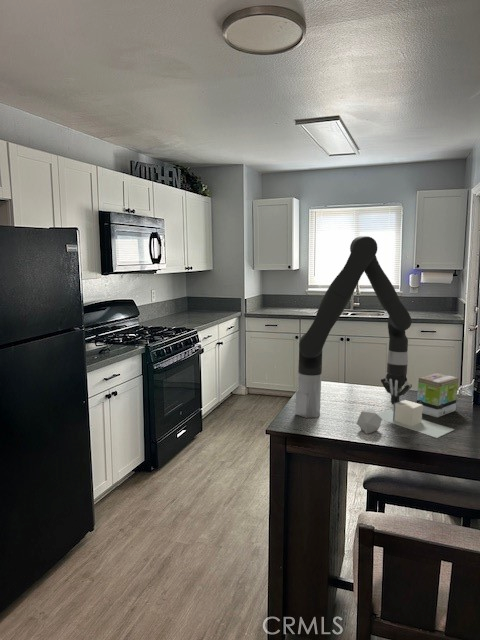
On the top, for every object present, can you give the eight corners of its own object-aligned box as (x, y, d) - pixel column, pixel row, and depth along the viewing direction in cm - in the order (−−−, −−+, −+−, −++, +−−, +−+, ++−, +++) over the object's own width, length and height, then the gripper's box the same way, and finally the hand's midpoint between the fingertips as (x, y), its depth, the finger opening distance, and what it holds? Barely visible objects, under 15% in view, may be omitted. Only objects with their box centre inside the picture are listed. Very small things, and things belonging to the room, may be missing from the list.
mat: (436, 438, 164) (436, 437, 164) (369, 416, 186) (369, 415, 186) (454, 430, 172) (454, 429, 172) (388, 410, 194) (388, 409, 194)
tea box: (438, 418, 184) (441, 382, 182) (415, 412, 192) (417, 377, 190) (456, 411, 194) (459, 376, 192) (433, 404, 202) (435, 371, 200)
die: (368, 426, 176) (354, 407, 175) (388, 421, 171) (374, 401, 170) (364, 441, 170) (349, 421, 169) (384, 435, 165) (369, 415, 163)
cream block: (392, 420, 181) (411, 426, 175) (394, 403, 180) (412, 408, 174) (402, 416, 185) (421, 422, 179) (403, 399, 184) (422, 404, 178)
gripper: (377, 360, 184) (375, 402, 187) (407, 366, 174) (404, 410, 177) (387, 357, 189) (385, 398, 192) (418, 363, 179) (415, 406, 182)
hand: (394, 404), depth 184 cm, fingers closed
